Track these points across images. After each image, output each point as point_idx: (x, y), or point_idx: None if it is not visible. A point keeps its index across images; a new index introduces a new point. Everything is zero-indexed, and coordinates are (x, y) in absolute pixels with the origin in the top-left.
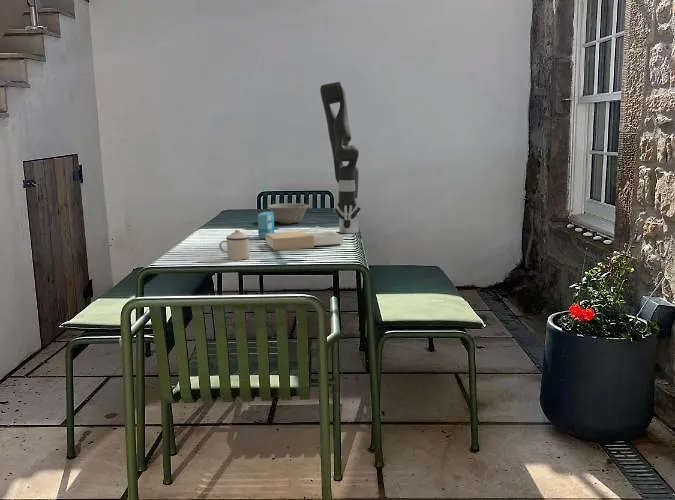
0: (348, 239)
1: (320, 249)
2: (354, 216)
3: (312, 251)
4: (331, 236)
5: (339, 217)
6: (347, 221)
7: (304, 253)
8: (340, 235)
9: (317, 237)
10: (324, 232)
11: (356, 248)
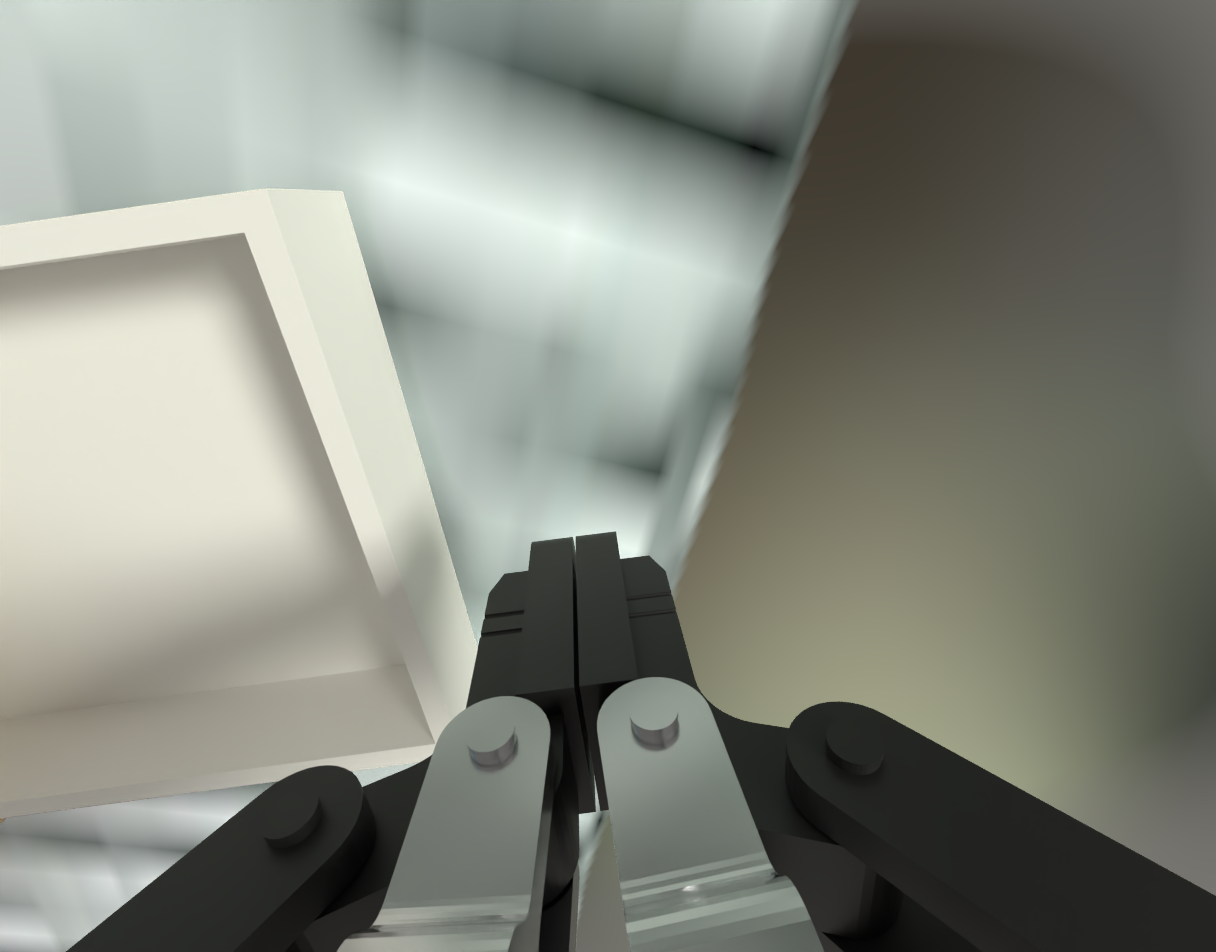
0: (678, 119)
1: (196, 814)
2: (911, 931)
3: (121, 880)
4: (260, 772)
5: (243, 854)
6: (591, 778)
7: (58, 937)
8: (422, 704)
9: (24, 810)
10: (18, 264)
11: (600, 820)
